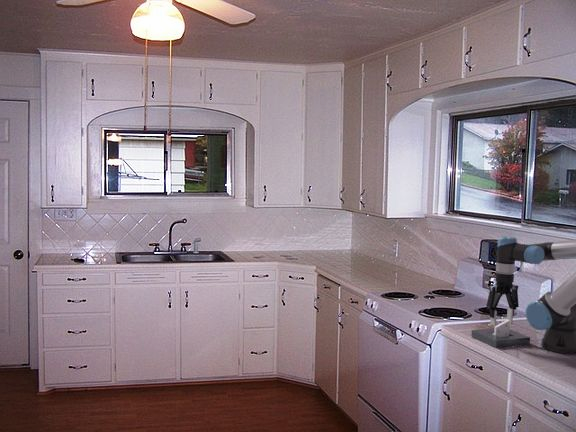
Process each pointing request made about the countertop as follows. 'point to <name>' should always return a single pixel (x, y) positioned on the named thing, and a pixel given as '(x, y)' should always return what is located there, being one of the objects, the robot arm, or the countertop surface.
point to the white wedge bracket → (502, 329)
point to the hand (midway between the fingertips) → (501, 324)
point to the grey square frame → (500, 338)
